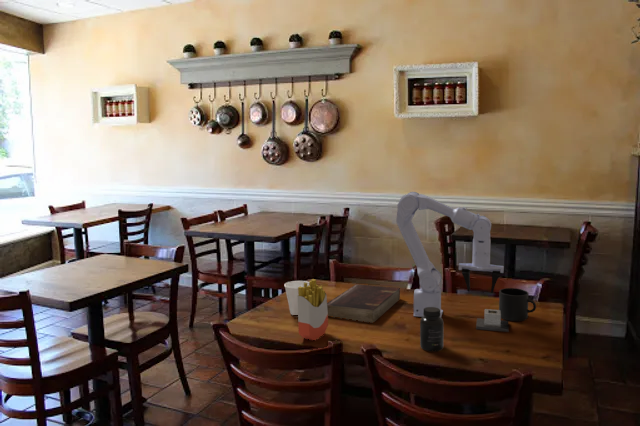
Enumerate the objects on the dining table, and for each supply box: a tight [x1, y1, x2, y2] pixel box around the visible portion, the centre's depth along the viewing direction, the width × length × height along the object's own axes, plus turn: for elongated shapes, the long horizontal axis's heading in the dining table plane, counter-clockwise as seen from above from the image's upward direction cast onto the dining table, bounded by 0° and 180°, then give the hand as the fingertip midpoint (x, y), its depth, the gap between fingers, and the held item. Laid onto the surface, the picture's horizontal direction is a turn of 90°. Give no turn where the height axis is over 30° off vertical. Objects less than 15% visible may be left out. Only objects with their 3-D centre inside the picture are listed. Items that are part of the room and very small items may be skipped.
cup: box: [284, 280, 309, 316], centre depth 190 cm, size 10×10×11 cm
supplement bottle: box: [419, 307, 445, 353], centre depth 156 cm, size 7×7×12 cm
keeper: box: [475, 317, 510, 333], centre depth 173 cm, size 10×8×4 cm
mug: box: [498, 287, 537, 322], centre depth 180 cm, size 9×12×9 cm
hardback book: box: [327, 283, 401, 324], centre depth 196 cm, size 29×19×5 cm, turn 153°
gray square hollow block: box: [483, 308, 502, 327], centre depth 172 cm, size 5×5×4 cm
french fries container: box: [297, 278, 329, 341], centre depth 166 cm, size 5×11×18 cm, turn 147°
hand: (480, 291), depth 179 cm, fingers open, 7 cm apart
